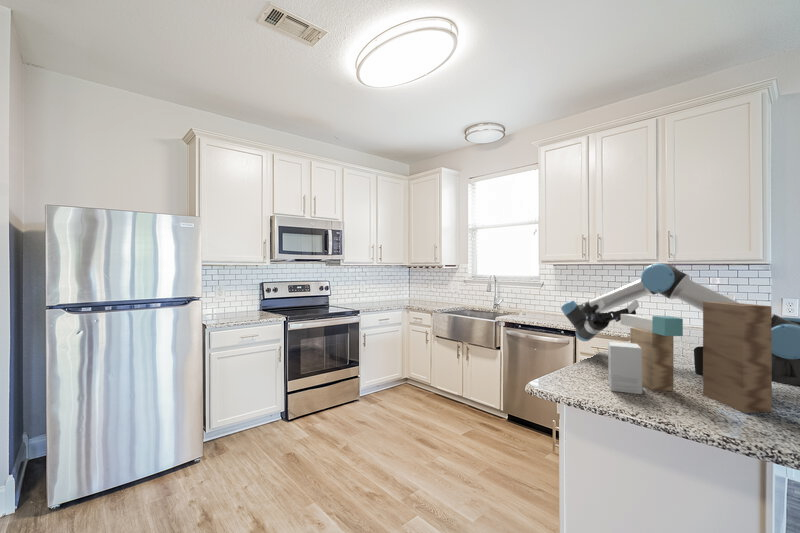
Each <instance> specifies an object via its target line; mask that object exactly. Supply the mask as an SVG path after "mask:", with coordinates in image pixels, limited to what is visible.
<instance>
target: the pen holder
mask: <svg viewBox="0 0 800 533" xmlns="http://www.w3.org/2000/svg"><path fill="white" fill-rule="evenodd" d="M693 359H694V360H693V362H694V363H693V364H694V372H695V373H696V374H697V375H699V376H703V345H702V346H701V345H700V346H696V347H695V348H693Z"/></svg>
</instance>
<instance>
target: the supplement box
mask: <svg viewBox="0 0 800 533" xmlns="http://www.w3.org/2000/svg"><path fill="white" fill-rule="evenodd" d="M607 344H608V346H607V351H608V352H607V354H608V355H607V356H608V357H607V358H608V360H607V362H608V363H607V364H608V367H607V368H608V372H607V374H608V375H607V376H608V379H607V380H608V386H609V389H610V391H611V392H616V393H617V392H620V393H627V394H637V395H643V386H642V348H641V347H640V346H639V345H638V344H633V343H630V342H617V341H607Z"/></svg>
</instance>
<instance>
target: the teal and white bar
mask: <svg viewBox="0 0 800 533" xmlns="http://www.w3.org/2000/svg"><path fill="white" fill-rule="evenodd" d="M683 320H684V318H680V317H675V316H670V315H669V316H667V315H663V316H661V315H657V316H656V315H652V317H648V316H643V315H637V314H635V315H633V314H621V320H620V325H623V326H626V327H630V328H638V329H642V330H646V331H650V332H652V333H655V334H659V335H663V336H673V337H683V336H684V334H683V333H684V330H683V328H684V323H683Z"/></svg>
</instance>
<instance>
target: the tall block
mask: <svg viewBox="0 0 800 533" xmlns="http://www.w3.org/2000/svg"><path fill="white" fill-rule="evenodd" d="M771 314H772V306H771V305H763V304H752V303H743V302H741V303H740V302H738V303H733V302H703V311H702V346H703V375H702V396H703V397H707V398H709V399H711V400H713V401H716V402H719V403H721V404H723V405H725V406H728V407H730V408H732V409H735V410H737V411H739V412H742V413H772V412H773V411H772V409H773V403H772V401H773V400H772V399H773V398H772V396H773V395H772V394H773V392H772V391H773V390H772V383H773V382H772V334H771Z"/></svg>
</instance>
